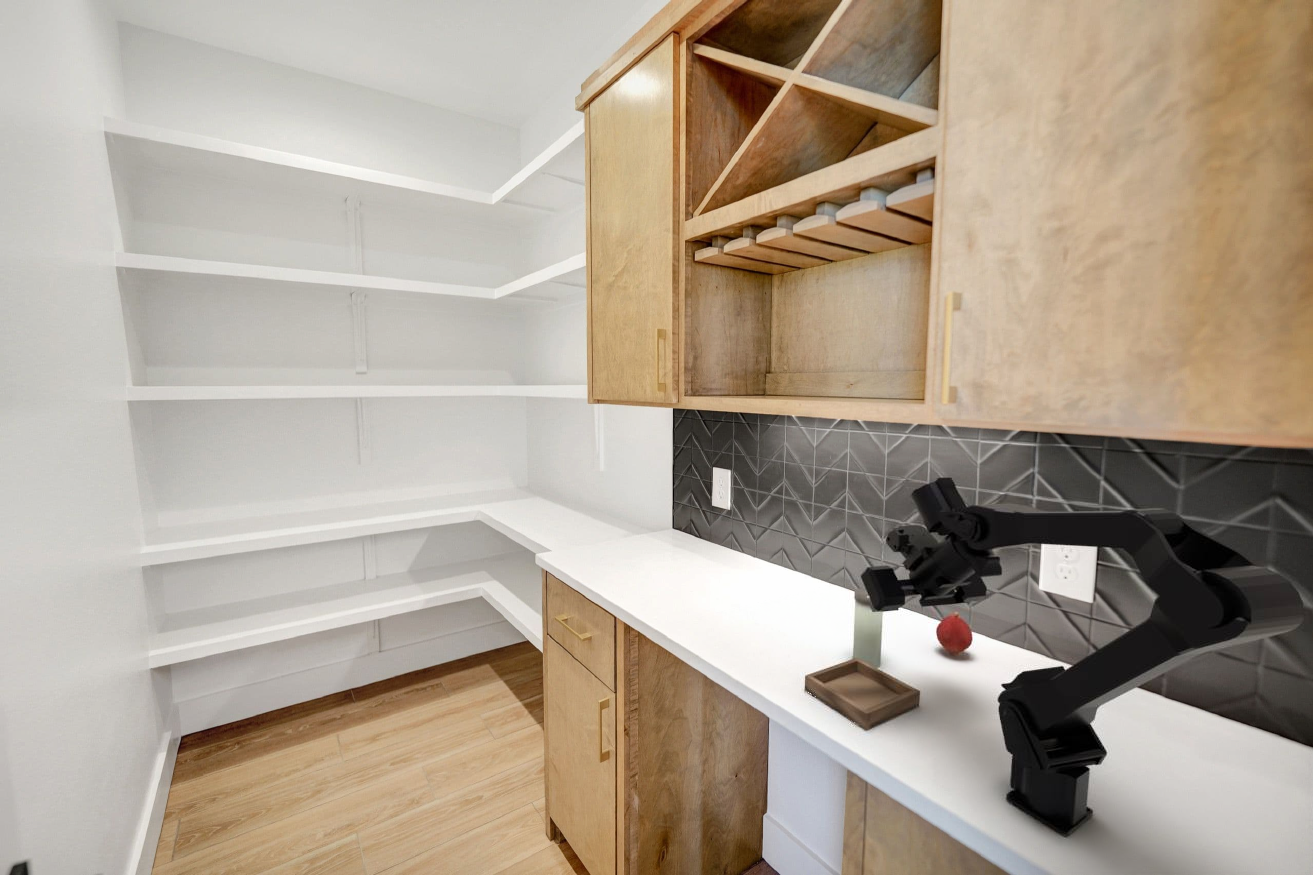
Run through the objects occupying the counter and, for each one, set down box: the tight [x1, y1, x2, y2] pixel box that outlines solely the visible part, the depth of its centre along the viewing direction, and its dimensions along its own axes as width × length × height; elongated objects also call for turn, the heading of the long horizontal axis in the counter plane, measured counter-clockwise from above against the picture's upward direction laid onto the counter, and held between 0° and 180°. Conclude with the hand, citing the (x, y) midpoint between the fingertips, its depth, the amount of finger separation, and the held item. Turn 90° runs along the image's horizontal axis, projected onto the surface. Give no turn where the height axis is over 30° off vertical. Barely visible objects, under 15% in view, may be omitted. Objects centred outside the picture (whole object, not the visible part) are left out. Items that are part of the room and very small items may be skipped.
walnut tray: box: [804, 658, 921, 731], centre depth 88 cm, size 12×12×2 cm
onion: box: [935, 612, 973, 656], centre depth 102 cm, size 6×6×8 cm
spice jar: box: [852, 587, 884, 669], centre depth 99 cm, size 5×5×12 cm
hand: (896, 606), depth 91 cm, fingers open, 9 cm apart
